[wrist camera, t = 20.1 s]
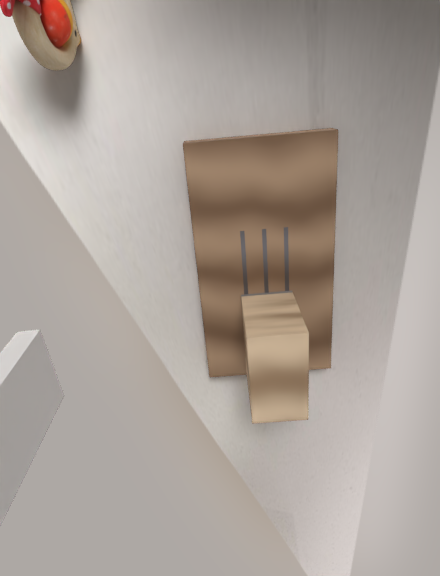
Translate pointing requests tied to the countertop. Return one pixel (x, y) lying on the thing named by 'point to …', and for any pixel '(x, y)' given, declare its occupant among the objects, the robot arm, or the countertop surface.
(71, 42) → the bird rattle
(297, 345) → the block
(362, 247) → the countertop surface
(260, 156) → the walnut board
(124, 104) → the countertop surface
